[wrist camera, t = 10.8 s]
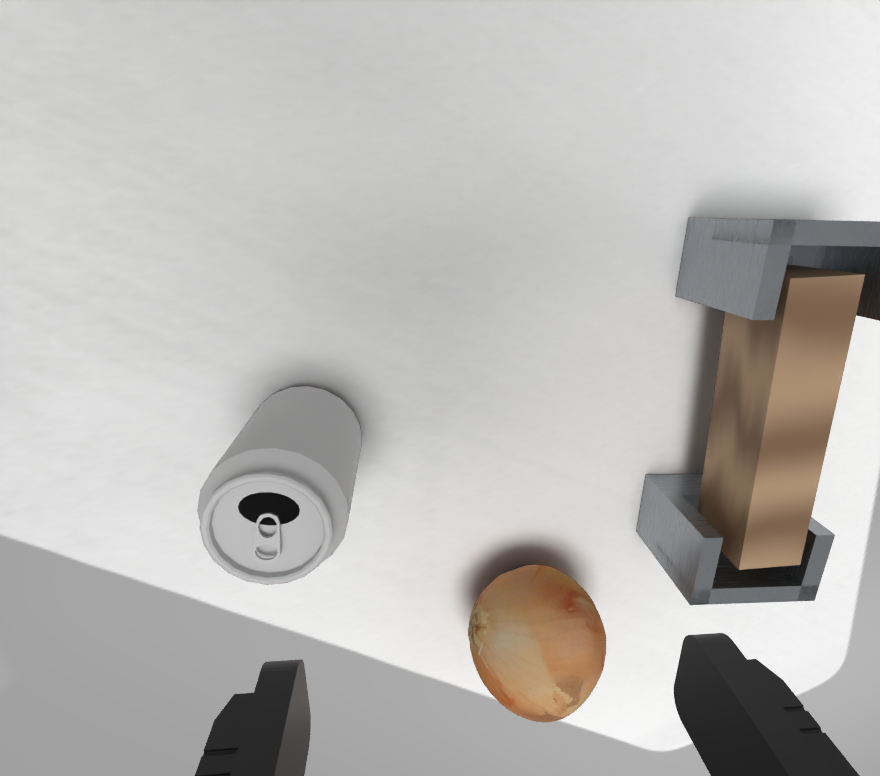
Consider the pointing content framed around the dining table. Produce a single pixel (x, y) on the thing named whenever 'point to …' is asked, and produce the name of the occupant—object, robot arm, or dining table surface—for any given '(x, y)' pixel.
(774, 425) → the rail
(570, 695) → the onion
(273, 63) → the dining table surface
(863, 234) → the cup brackets
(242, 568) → the can
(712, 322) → the dining table surface
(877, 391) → the dining table surface
